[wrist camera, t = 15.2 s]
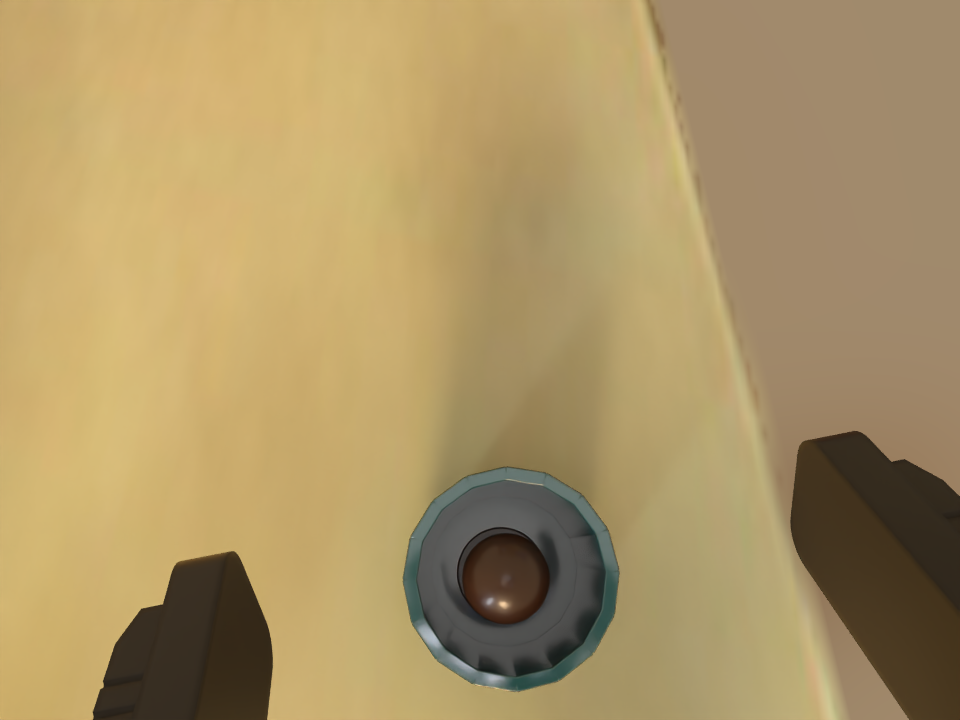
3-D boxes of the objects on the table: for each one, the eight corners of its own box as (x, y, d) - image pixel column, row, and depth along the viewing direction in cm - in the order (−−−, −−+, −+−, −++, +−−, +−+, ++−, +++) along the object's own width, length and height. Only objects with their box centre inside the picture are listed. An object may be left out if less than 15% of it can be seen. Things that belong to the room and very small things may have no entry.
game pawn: (450, 609, 35) (439, 630, 26) (465, 521, 36) (459, 511, 27) (537, 624, 35) (556, 650, 26) (549, 535, 36) (572, 530, 27)
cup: (409, 640, 35) (386, 670, 27) (437, 475, 37) (424, 453, 28) (574, 668, 35) (604, 707, 26) (594, 500, 37) (629, 485, 28)
